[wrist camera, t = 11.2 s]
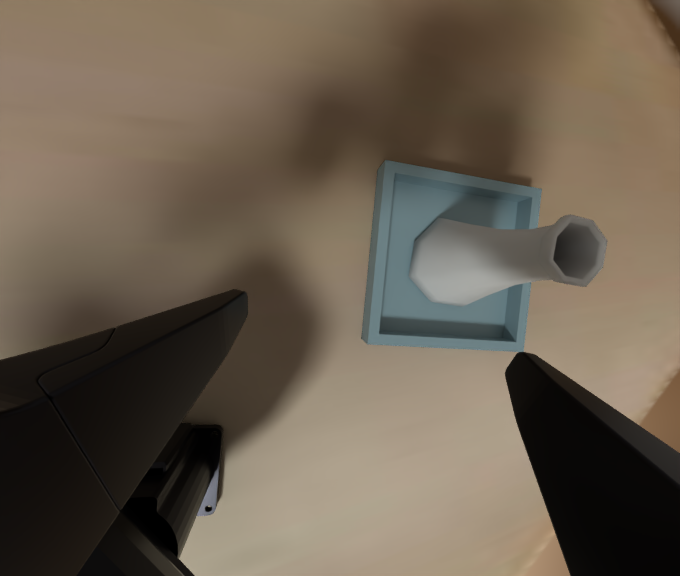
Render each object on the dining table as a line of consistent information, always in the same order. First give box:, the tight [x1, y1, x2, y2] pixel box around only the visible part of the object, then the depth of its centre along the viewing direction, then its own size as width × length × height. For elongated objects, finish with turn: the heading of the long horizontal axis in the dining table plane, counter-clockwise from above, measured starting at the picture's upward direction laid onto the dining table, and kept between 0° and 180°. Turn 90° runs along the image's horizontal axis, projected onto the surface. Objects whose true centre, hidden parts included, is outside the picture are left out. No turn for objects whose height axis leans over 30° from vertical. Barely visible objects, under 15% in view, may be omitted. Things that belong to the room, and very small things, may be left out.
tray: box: [361, 160, 542, 352], centre depth 21 cm, size 14×14×2 cm
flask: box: [409, 215, 607, 307], centre depth 16 cm, size 7×7×10 cm
